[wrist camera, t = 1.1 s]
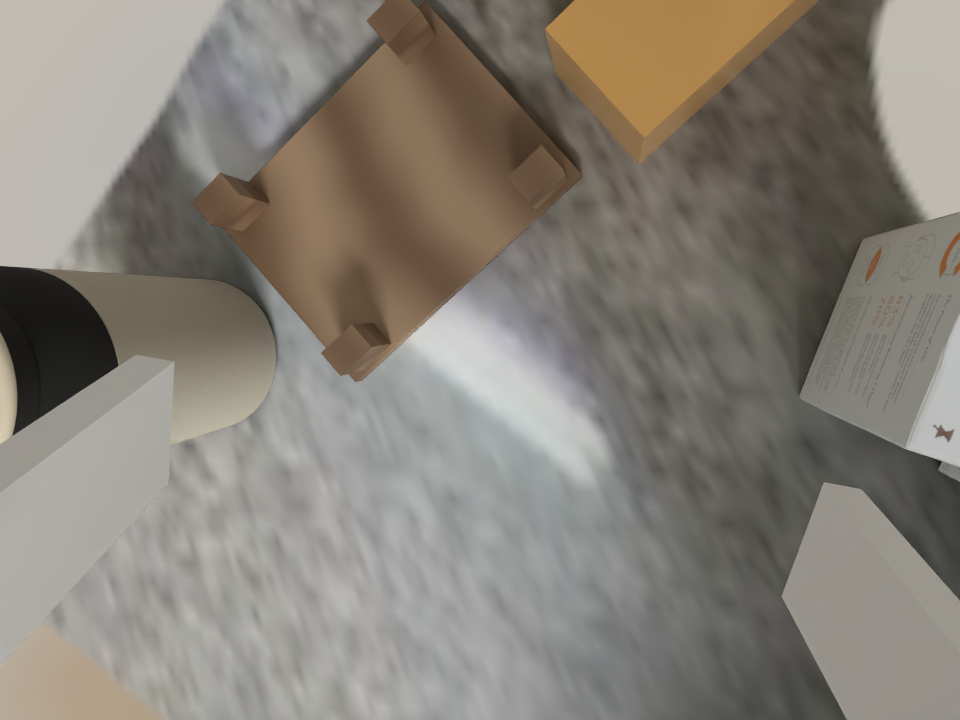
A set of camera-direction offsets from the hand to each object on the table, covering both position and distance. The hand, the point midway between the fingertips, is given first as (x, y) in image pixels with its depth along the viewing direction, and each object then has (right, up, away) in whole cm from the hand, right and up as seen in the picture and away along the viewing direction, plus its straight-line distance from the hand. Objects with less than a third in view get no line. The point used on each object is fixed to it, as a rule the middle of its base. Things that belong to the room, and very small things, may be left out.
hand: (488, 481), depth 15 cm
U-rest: (-4, +11, +23) cm, 26 cm away
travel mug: (-15, +3, +25) cm, 29 cm away
